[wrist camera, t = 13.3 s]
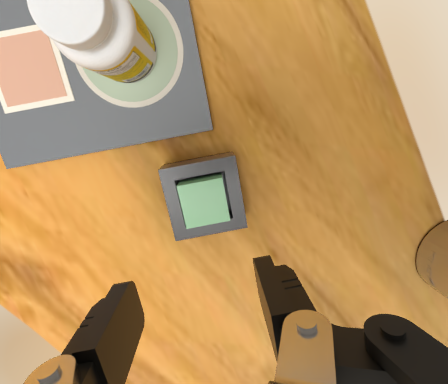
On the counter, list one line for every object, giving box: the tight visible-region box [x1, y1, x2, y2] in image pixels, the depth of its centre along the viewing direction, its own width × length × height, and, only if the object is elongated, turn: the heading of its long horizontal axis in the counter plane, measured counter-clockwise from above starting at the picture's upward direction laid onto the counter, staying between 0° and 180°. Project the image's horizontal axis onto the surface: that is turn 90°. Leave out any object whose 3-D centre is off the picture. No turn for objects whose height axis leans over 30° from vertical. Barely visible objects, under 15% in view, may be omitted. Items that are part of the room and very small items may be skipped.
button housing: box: [158, 152, 248, 241], centre depth 26 cm, size 7×7×4 cm
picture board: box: [0, 0, 213, 169], centre depth 24 cm, size 20×16×1 cm
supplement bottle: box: [27, 0, 157, 83], centre depth 19 cm, size 5×5×10 cm
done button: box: [177, 173, 230, 229], centre depth 25 cm, size 4×4×2 cm
